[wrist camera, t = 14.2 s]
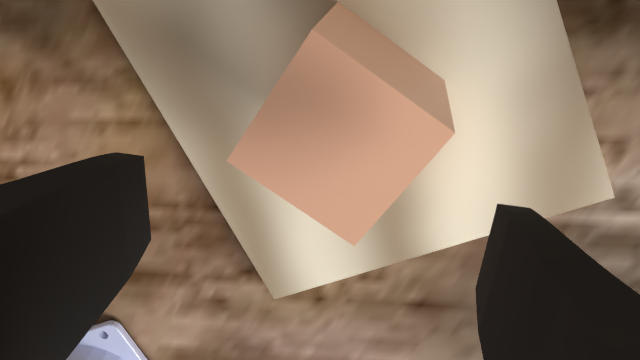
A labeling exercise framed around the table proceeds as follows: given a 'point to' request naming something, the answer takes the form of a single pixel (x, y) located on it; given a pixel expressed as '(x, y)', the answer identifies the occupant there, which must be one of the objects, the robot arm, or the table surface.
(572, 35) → the table surface
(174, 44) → the post board
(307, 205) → the salmon pink cube
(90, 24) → the table surface
